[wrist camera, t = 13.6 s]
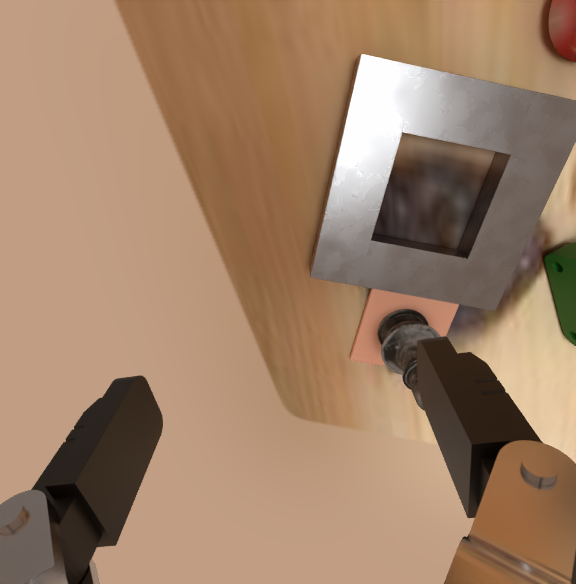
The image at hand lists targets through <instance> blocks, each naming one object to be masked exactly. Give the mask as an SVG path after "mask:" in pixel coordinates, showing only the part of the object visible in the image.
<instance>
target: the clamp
mask: <svg viewBox="0 0 576 584" xmlns="http://www.w3.org/2000/svg"><path fill="white" fill-rule="evenodd" d="M545 265H546V269H547V273H548V277H549V280H550V284H551V288H552V292H553V296H554V300H555V304H556V308H557V312H558V315H559V319H560V323H561V327H562V331H563V334H564V335H565V337H566V338H567V339H568V340H569V341H570V342H571V343H572V344H573V345H575V346H576V243H568V244H566V245H564V246H562V247H561V248H559V249H557V250H555V251H554V252H552V253H550V254H549V255H547V256H546V257H545Z"/></svg>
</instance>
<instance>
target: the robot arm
mask: <svg viewBox="0 0 576 584" xmlns="http://www.w3.org/2000/svg"><path fill="white" fill-rule="evenodd" d="M417 367H418V387H419V393H420V397H421V401H422V404H423V407H424V410H425V412H426V415H427V417H428V420H429V422H430V425H431V427H432V430H433V432H434V435H435V437H436V440H437V442H438V445H439V447H440V450H441V452H442V455H443V457H444V460H445V462H446V465H447V467H448V470H449V472H450V475H451V477H452V480H453V482H454V485H455V487H456V490H457V492H458V495H459V497H460V500H461V502H462V505H463V507H464V510H465V512H466V515H467V517H468V518H475V520H474V522H473V525H472V528H471V531H470V533H469V535H468V536H467V537H463V538H462V540H461V542H460V544H459V546H458V548H457V551H456V553H455V556H454V558H453V561H452V564H451V567H450V569H449V572H448V575H447V577H446V580H445V583H444V584H576V464H575V463H574V462H573V461H572V459H570V458H569V457H568V456H567V455H565V454H564V453H562V452H561V451H559V450H558V449H556V448H554V447H552V446H549V445H547V444H544V443H542V441H541V440H540V439H539V437H538V436H537V434H536V433H535V432H534V430H533V429H532V427H531V426H530V424H529V423H528V422H527V420H526V419H525V417H524V416H523V414H522V413H521V412H520V410H519V409H518V407H517V406H516V404H515V403H514V402H513V400H512V399H511V397H510V396H509V394H508V393H506V392H505V389H504V387H503V386H502V384H501V383H500V382H499V380H498V381H497V377H496V376H495V374H494V373H493V372H492V370H491V369H490V367H489V366H488V364H487V363H486V362H484V361H483V360H481V359H480V358H478V357H477V356H475V355H474V354H472V353H471V352H466V353H459V354H457V352H456V351H455V349H454V347H453V346H452V344H451V342H450V341H449V339H448V338H447V337H446V336H443V337H436V338H428V339H420V340H418V341H417ZM162 428H163V419H162V414H161V411H160V409H159V407H158V405H157V402H156V400H155V398H154V396H153V393H152V391H151V389H150V387H149V384H148V382H147V380H146V379H145V377H143V376H133V377H126V378H119V379H115V380H114V381H113V382H112V384H111V385H110V387H109V388H108V390H107V391H106V393H105V394H104V396H103V397H102V398H99V399H98V400H97V401H96V402H95V403H94V404H92V405H91V406H90V407H89V408H88V409H87V410H86V411H85V412H84V413H83V415H82V416H81V417H80V419H79V420H78V422H77V423H76V425H75V426H74V430H72V431H71V432H70V434H69V435H68V437H67V438H66V442H64V443H63V444H62V445H61V447H60V448H59V450H58V451H57V453H56V454H55V456H54V457H53V459H52V460H51V462H50V463H49V465H48V466H47V467H46V469H45V470H44V472H43V473H42V475H41V476H40V478H39V479H38V481H37V482H36V484H35V485H34V487H33V488H32V489H31V490H29V491H25V492H22V493H19V494H17V495H15V496H13V497H11V498H10V499H8V500H6V501H5V502H3V503H2V504H1V505H0V584H100V583H99V579H98V574H97V570H96V566H95V563H94V562H93V560H92V556H93V554H94V552H95V550H96V547H102V546H115V545H116V544H117V541H118V539H119V536H120V534H121V531H122V529H123V527H124V524H125V522H126V519H127V517H128V514H129V512H130V510H131V507H132V505H133V502H134V500H135V497H136V495H137V492H138V490H139V487H140V485H141V482H142V480H143V477H144V475H145V472H146V470H147V468H148V465H149V463H150V460H151V458H152V455H153V453H154V450H155V448H156V445H157V443H158V441H159V438H160V436H161V433H162Z"/></svg>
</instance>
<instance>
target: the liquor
mask: <svg viewBox="0 0 576 584" xmlns="http://www.w3.org/2000/svg"><path fill="white" fill-rule="evenodd" d="M548 23H549V34H550V37H551V41H552V43H553V45H554V47H555V49H556V50H557V51H558V52H559V53H560V54H561V55H562V56H563V57H565V58H566V59H568V60H571V61H574V62H576V0H552V4H551V7H550V12H549V21H548Z"/></svg>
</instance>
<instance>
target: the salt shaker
mask: <svg viewBox="0 0 576 584" xmlns="http://www.w3.org/2000/svg"><path fill="white" fill-rule="evenodd" d="M377 334H378V339H379V341H380V343H381V345H382V347H381V356H382V360H383V362H384V364H385V365H386V366H387V367H388V368H389V369H390V370H391V371H393V372H395V373H398V374H402V375H403V382H404V384H405V385H406V386H407V387H408V388H409V389H411V390H412V392H413V395H414V397H415V400H416V402H417V404H418V405H419V407H420V408H421V409H423V410H424V407H423V404H422V401H421V397H420V393H419V387H418V367H417V341H418V340H420V339H428V338H436V337H441V336H440V334H439V333H438V332H437V331H436V330H435V329H433V328H431V327H430V326H429V324H428V322H427V320H426V318H425V317H424V316H423V315H422V314H421V313H419V312H417V311H415V310H411V309H400V310H396V311H394V312H392V313H390V314H388V315H387V316H386V317H384V319H383V320H382V321H381V322H380V325H379V327H378V333H377Z"/></svg>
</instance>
